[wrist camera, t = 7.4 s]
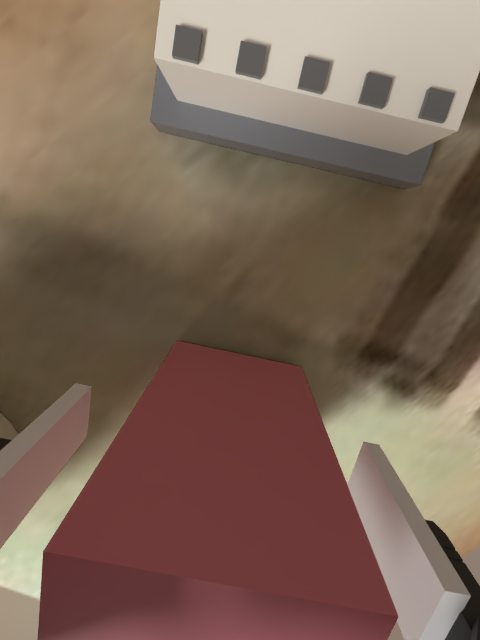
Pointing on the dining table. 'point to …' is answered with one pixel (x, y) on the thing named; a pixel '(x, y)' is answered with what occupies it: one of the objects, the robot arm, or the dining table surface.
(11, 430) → the reusable coffee cup
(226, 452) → the pink block
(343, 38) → the white notepad
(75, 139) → the dining table surface
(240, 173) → the dining table surface
